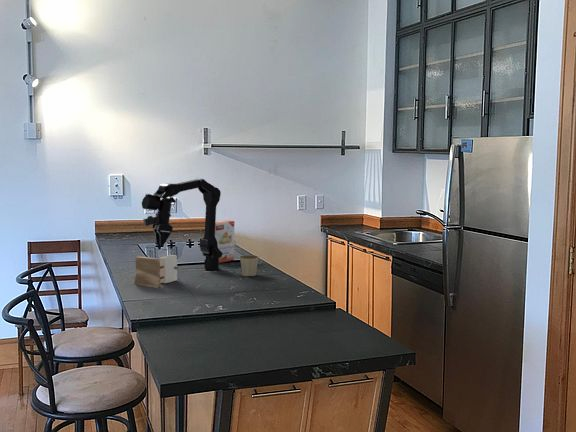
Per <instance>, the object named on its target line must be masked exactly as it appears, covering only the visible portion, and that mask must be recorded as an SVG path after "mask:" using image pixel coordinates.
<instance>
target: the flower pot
mask: <svg viewBox="0 0 576 432" xmlns="http://www.w3.org/2000/svg"><path fill="white" fill-rule="evenodd" d="M238 258H239V261H240V265H241V267H240V268H241V272H242V276H244V277H255V276H256V275H257V268H258V262H259V260H260V255H255V254H254V255H253V254H250V255H249V254H244V255H239V256H238Z"/></svg>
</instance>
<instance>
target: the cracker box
mask: <svg viewBox="0 0 576 432" xmlns="http://www.w3.org/2000/svg"><path fill="white" fill-rule="evenodd" d="M215 238H216V240H217V243H218V249H219V250H220V251H221V252H222V257H220V258H219V264H221V263H226V262H232V261H231V260H233V261H234V260H235V220H231V219H230V220H229V219H227V220H220V221H219V220H218V221H217V220H216V222H215Z"/></svg>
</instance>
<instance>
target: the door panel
mask: <svg viewBox="0 0 576 432" xmlns="http://www.w3.org/2000/svg"><path fill="white" fill-rule="evenodd" d="M159 259H160V266H164V268H162V269H160V277H162V276H164V278H163V279H160V284H167V283H168V284H169V283H172V282H175V281H178V269H179V266H178V256H177V255H175V254H169V255H165V256H161V257H159Z"/></svg>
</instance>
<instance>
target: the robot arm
mask: <svg viewBox="0 0 576 432" xmlns="http://www.w3.org/2000/svg"><path fill="white" fill-rule="evenodd" d="M194 189H198V191H199V192H200V193H202V197H203V202H204V204H205V217H204V219H205V220H204V221H205V222H204V236H203V238H200V239H199V245H198V248H200V249H199V250H200V251H201V253H202V256H203V257H205V259H204V269H205V271H219V270H220V263H219V258H220V257H222V252H221V251H220V250H219V249H218V243H217V240H216V238H215V222H216V221H217V220H216V218H217V217H216V216H217V206H218V204H219V202H220V200H221V195H222V194H221V192H222V191H221V190H220V189H219V188H218V187H216V186H214V185H212V183H209V182H207V180H205V179H203V178H195V179H192V180H191V179H190V180H187V181H181V182H177V183H160V184H159V186H158V189H157V190H156V191H154V193H153V194H150V193H145V195H144V197H143V198H142V200H141V208H142V209H143V210H149V211H157V212H156V213H155V215H154V216H152V215H149V216H147V217H144V218H143V219H142V220H143V224H144V227H148V226H150V225H151V227H150V228H151V230H152V231H153V232H154V234H155V243H156V246H160V248H161V247H162V248H163V247H164V246H165V244H166V242H167V240H168V239H169V237H170V236H171V235H172V232H173V229H174V227H173V226H172V225H171V224H170V218H171V217H172V214H171V209H172V203H177V200H175V198H174V197H175V196H176V195H178V194H179V193H181V192H186V191H190V190H194Z"/></svg>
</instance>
